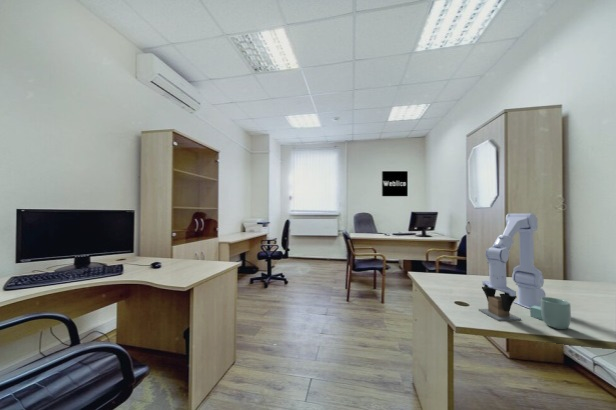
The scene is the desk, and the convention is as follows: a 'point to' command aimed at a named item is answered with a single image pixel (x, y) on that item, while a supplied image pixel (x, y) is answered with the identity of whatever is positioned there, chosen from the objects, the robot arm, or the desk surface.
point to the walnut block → (496, 306)
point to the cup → (556, 312)
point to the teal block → (536, 312)
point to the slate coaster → (499, 318)
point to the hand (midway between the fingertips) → (498, 307)
